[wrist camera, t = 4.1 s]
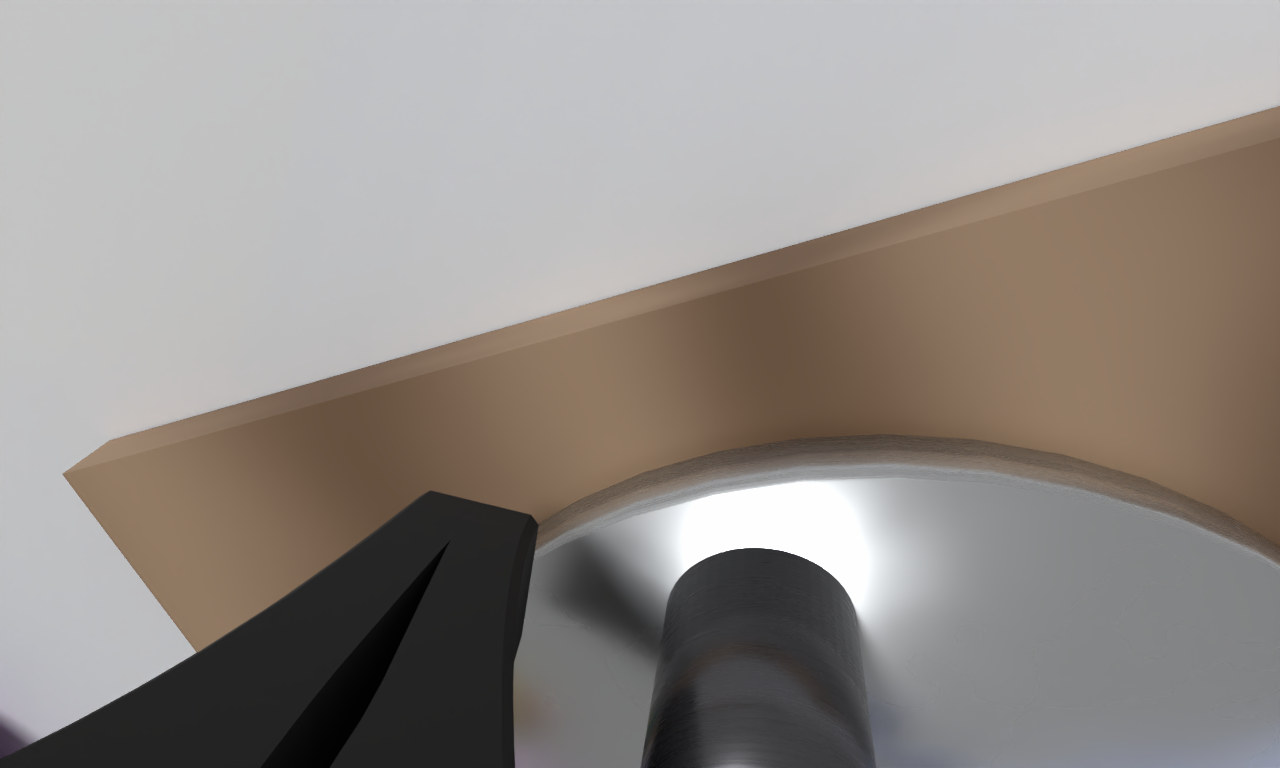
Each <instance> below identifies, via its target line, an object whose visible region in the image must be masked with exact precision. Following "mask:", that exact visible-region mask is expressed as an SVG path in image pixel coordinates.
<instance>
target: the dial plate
mask: <svg viewBox="0 0 1280 768" xmlns="http://www.w3.org/2000/svg"><path fill="white" fill-rule="evenodd" d="M876 434H895V435H911V436H928V437H944V438H961V439H976V440H982V441H988V442H994V443H999V444H1005V445H1011V446H1017V447H1023V448H1028V449H1034V450H1040V451H1046V452H1052V453H1057V454H1063V455H1067V456H1070V457H1074V458H1077V459H1080V460H1084V461H1087V462H1091V463H1094V464H1098V465H1101V466H1104V467H1108V468H1111V469H1115V470H1118V471H1121V472H1125V473H1128V474H1132V475H1135V476H1138V477H1142V478H1145V479H1148V480H1151V481H1153V482H1155V483H1158V484H1160V485H1162V486H1165V487H1167V488H1169V489H1171V490H1174V491H1176V492H1178V493H1181V494H1183V495H1185V496H1188V497H1190V498H1192V499H1195V500H1197V501H1199V502H1201V503H1204V504H1206V505H1208V506H1211V507H1213V508H1215V509H1218V510H1220V511H1222V512H1225V513H1226V514H1228V515H1230V516H1231V517H1233V518H1234V519H1236V520H1238V521H1239V522H1241V523H1243V524H1244V525H1246V526H1248V527H1249V528H1251V529H1253V530H1254V531H1256V532H1258V533H1259V534H1261V535H1263V536H1264V537H1266V538H1267V539H1269V540H1271V541H1272V542H1274V543H1276V544H1277V545H1279V546H1280V106H1279V107H1275V108H1272V109H1268V110H1265V111H1261V112H1258V113H1254V114H1251V115H1247V116H1244V117H1240V118H1237V119H1233V120H1230V121H1226V122H1223V123H1219V124H1216V125H1212V126H1209V127H1205V128H1202V129H1198V130H1195V131H1191V132H1188V133H1184V134H1181V135H1177V136H1174V137H1170V138H1167V139H1163V140H1160V141H1156V142H1153V143H1149V144H1146V145H1142V146H1139V147H1135V148H1132V149H1128V150H1125V151H1121V152H1118V153H1114V154H1111V155H1107V156H1104V157H1100V158H1097V159H1093V160H1090V161H1086V162H1083V163H1079V164H1076V165H1072V166H1069V167H1065V168H1062V169H1058V170H1055V171H1051V172H1048V173H1044V174H1041V175H1037V176H1034V177H1030V178H1027V179H1023V180H1020V181H1016V182H1013V183H1009V184H1006V185H1002V186H999V187H995V188H992V189H988V190H985V191H981V192H978V193H974V194H971V195H967V196H964V197H960V198H957V199H953V200H950V201H946V202H943V203H939V204H936V205H932V206H929V207H925V208H922V209H918V210H915V211H911V212H908V213H904V214H901V215H897V216H894V217H890V218H887V219H883V220H880V221H876V222H873V223H869V224H866V225H862V226H859V227H855V228H852V229H848V230H845V231H841V232H838V233H834V234H831V235H827V236H824V237H820V238H817V239H813V240H810V241H806V242H803V243H799V244H796V245H792V246H789V247H785V248H782V249H778V250H775V251H771V252H768V253H764V254H761V255H757V256H754V257H750V258H747V259H743V260H740V261H736V262H733V263H729V264H726V265H722V266H719V267H715V268H712V269H708V270H705V271H701V272H698V273H694V274H691V275H687V276H684V277H680V278H677V279H673V280H670V281H666V282H663V283H659V284H656V285H652V286H649V287H645V288H642V289H638V290H635V291H631V292H628V293H624V294H621V295H617V296H614V297H610V298H607V299H603V300H600V301H596V302H593V303H589V304H586V305H582V306H579V307H575V308H572V309H568V310H565V311H561V312H558V313H554V314H551V315H547V316H544V317H540V318H537V319H533V320H530V321H526V322H523V323H519V324H516V325H512V326H509V327H505V328H502V329H498V330H495V331H491V332H488V333H484V334H481V335H477V336H474V337H470V338H467V339H463V340H460V341H456V342H453V343H449V344H446V345H442V346H439V347H435V348H432V349H428V350H425V351H421V352H418V353H414V354H411V355H407V356H404V357H400V358H397V359H393V360H390V361H386V362H383V363H379V364H376V365H372V366H369V367H365V368H362V369H358V370H355V371H351V372H348V373H344V374H341V375H337V376H334V377H330V378H327V379H323V380H320V381H316V382H313V383H309V384H306V385H302V386H299V387H295V388H292V389H288V390H285V391H281V392H278V393H274V394H271V395H267V396H264V397H260V398H257V399H253V400H250V401H246V402H243V403H239V404H236V405H232V406H229V407H225V408H222V409H218V410H215V411H211V412H208V413H204V414H201V415H197V416H194V417H190V418H187V419H183V420H180V421H176V422H173V423H169V424H166V425H162V426H159V427H155V428H152V429H148V430H145V431H141V432H138V433H134V434H131V435H127V436H124V437H120V438H117V439H113V440H110V441H108V442H107V443H105V444H104V445H102V446H101V447H100V448H98V449H97V450H95V451H94V452H93V453H91V454H90V455H88V456H87V457H86V458H84V459H83V460H81V461H80V462H79V463H77V464H76V465H74V466H73V467H72V468H70V469H69V470H67V471H66V472H65V473H63V476H64V477H65V478H66V480H67V481H68V482H69V484H70V485H71V486H72V488H73V489H74V490H75V492H76V493H77V494H78V496H79V497H80V498H81V500H82V501H83V502H84V504H85V505H86V506H87V507H88V509H89V510H90V511H91V513H92V514H93V515H94V517H95V518H96V519H97V521H98V522H99V523H100V525H101V526H102V527H103V529H104V530H105V531H106V533H107V534H108V535H109V537H110V538H111V539H112V541H113V542H114V543H115V545H116V546H117V547H118V549H119V550H120V551H121V553H122V554H123V555H124V557H125V558H126V559H127V561H128V562H129V563H130V565H131V566H132V567H133V569H134V570H135V571H136V573H137V574H138V575H139V576H140V578H141V579H142V580H143V582H144V583H145V584H146V586H147V587H148V588H149V590H150V591H151V592H152V594H153V595H154V596H155V598H156V599H157V600H158V602H159V603H160V604H161V606H162V607H163V608H164V610H165V611H166V612H167V614H168V615H169V616H170V618H171V619H172V620H173V622H174V623H175V624H176V626H177V627H178V628H179V630H180V631H181V632H182V634H183V635H184V636H185V638H186V639H187V640H188V641H189V643H190V644H191V645H192V647H193V648H194V649H195V651H196V652H199V651H201V650H202V649H204V648H205V647H207V646H208V645H210V644H212V643H213V642H215V641H216V640H218V639H219V638H221V637H222V636H224V635H226V634H227V633H229V632H230V631H232V630H233V629H235V628H237V627H238V626H240V625H241V624H243V623H244V622H246V621H248V620H249V619H251V618H252V617H254V616H255V615H257V614H258V613H260V612H262V611H263V610H265V609H266V608H268V607H269V606H271V605H272V604H274V603H275V602H277V601H278V600H280V599H281V598H283V597H284V596H285V595H287V594H288V593H290V592H291V591H293V590H294V589H295V588H297V587H298V586H300V585H301V584H303V583H304V582H305V581H307V580H308V579H310V578H311V577H312V576H314V575H315V574H317V573H318V572H320V571H321V570H322V569H324V568H325V567H327V566H328V565H329V564H331V563H332V562H334V561H335V560H337V559H338V558H339V557H341V556H342V555H343V554H345V553H346V552H347V551H349V550H350V549H351V548H353V547H354V546H355V545H357V544H358V543H359V542H361V541H362V540H363V539H365V538H366V537H368V536H369V535H370V534H371V533H373V532H374V531H375V530H377V529H378V528H379V527H381V526H382V525H383V524H385V523H386V522H387V521H388V520H390V519H391V518H392V517H394V516H395V515H396V514H398V513H399V512H400V511H401V510H403V509H404V508H405V507H407V506H408V505H409V504H411V503H412V502H413V501H414V500H416V499H417V498H418V497H420V496H421V495H423V494H425V493H426V492H428V491H430V490H431V491H435V492H439V493H443V494H448V495H452V496H456V497H460V498H464V499H468V500H472V501H477V502H481V503H485V504H489V505H493V506H497V507H501V508H506V509H510V510H514V511H518V512H522V513H526V514H530V515H532V517H533V518H534V519H535V521H536V522H537V523H540V522H542V521H544V520H545V519H547V518H549V517H550V516H552V515H554V514H555V513H557V512H559V511H560V510H562V509H564V508H566V507H567V506H569V505H571V504H572V503H574V502H576V501H577V500H579V499H582V498H584V497H586V496H589V495H591V494H593V493H596V492H598V491H600V490H603V489H605V488H608V487H610V486H612V485H615V484H617V483H619V482H622V481H624V480H627V479H629V478H631V477H634V476H636V475H638V474H641V473H643V472H646V471H650V470H653V469H657V468H661V467H664V466H668V465H671V464H675V463H678V462H682V461H685V460H689V459H692V458H696V457H700V456H703V455H707V454H710V453H714V452H717V451H723V450H729V449H735V448H742V447H748V446H754V445H760V444H767V443H773V442H779V441H785V440H791V439H798V438H814V437H834V436H855V435H876Z"/></svg>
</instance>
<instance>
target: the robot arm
mask: <svg viewBox="0 0 1280 768" xmlns="http://www.w3.org/2000/svg"><path fill="white" fill-rule="evenodd" d="M538 527H539V525H538V523H537V522H536V521H535V519H534V518H533V517H532V515H530V514H526V513H522V512H518V511H514V510H510V509H506V508H501V507H497V506H493V505H489V504H485V503H481V502H477V501H472V500H468V499H464V498H460V497H456V496H452V495H448V494H443V493H439V492H435V491H431V490H430V491H428V492H426V493H425V494H423V495H421V496H420V497H418V498H417V499H416V500H414V501H413V502H412V503H411V504H409V505H408V506H407V507H405V508H404V509H403V510H401V511H400V512H399V513H398V514H396V515H395V516H394V517H392V518H391V519H390V520H388V521H387V522H386V523H385V524H383V525H382V526H381V527H379V528H378V529H377V530H375V531H374V532H373V533H371V534H370V535H369V536H368V537H366V538H365V539H363V540H362V541H361V542H359V543H358V544H357V545H355V546H354V547H353V548H351V549H350V550H349V551H347V552H346V553H345V554H343V555H342V556H341V557H339V558H338V559H337V560H335V561H334V562H332V563H331V564H329V565H328V566H327V567H325V568H324V569H322V570H321V571H320V572H318V573H317V574H315V575H314V576H312V577H311V578H310V579H308V580H307V581H305V582H304V583H303V584H301V585H300V586H298V587H297V588H295V589H294V590H293V591H291V592H290V593H288V594H287V595H285V596H284V597H283V598H281V599H280V600H278V601H277V602H275V603H274V604H272V605H271V606H269V607H268V608H266V609H265V610H263V611H262V612H260V613H258V614H257V615H255V616H254V617H252V618H251V619H249V620H248V621H246V622H244V623H243V624H241V625H240V626H238V627H237V628H235V629H233V630H232V631H230V632H229V633H227V634H226V635H224V636H222V637H221V638H219V639H218V640H216V641H215V642H213V643H212V644H210V645H208V646H207V647H205V648H204V649H202V650H201V651H199V652H197V653H196V654H194V655H192V656H191V657H189V658H188V659H186V660H184V661H182V662H181V663H179V664H177V665H176V666H174V667H172V668H171V669H169V670H167V671H166V672H164V673H162V674H160V675H159V676H157V677H155V678H154V679H152V680H150V681H148V682H147V683H145V684H143V685H141V686H140V687H138V688H136V689H134V690H133V691H131V692H129V693H127V694H125V695H123V696H122V697H120V698H118V699H116V700H114V701H113V702H111V703H109V704H107V705H105V706H103V707H102V708H100V709H98V710H96V711H94V712H92V713H91V714H89V715H87V716H85V717H83V718H81V719H79V720H78V721H76V722H74V723H72V724H70V725H68V726H66V727H64V728H62V729H60V730H58V731H56V732H54V733H52V734H50V735H48V736H46V737H44V738H42V739H40V740H38V741H36V742H34V743H32V744H30V745H28V746H26V747H24V748H22V749H20V750H18V751H16V752H14V753H12V754H10V755H8V756H6V757H4V758H2V759H0V768H515V752H514V712H513V677H514V661H515V657H516V654H517V650H518V647H519V644H520V640H521V637H522V631H523V624H524V618H525V612H526V605H527V599H528V592H529V586H530V579H531V573H532V566H533V560H534V553H535V547H536V540H537V534H538Z"/></svg>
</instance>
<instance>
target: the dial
mask: <svg viewBox="0 0 1280 768" xmlns="http://www.w3.org/2000/svg"><path fill="white" fill-rule="evenodd" d="M538 525H539V527H538V534H537V540H536V547H535V553H534V560H533V566H532V573H531V579H530V586H529V592H528V599H527V605H526V612H525V618H524V624H523V631H522V637H521V640H520V644H519V647H518V650H517V654H516V657H515V661H514V677H513V712H514V752H515V768H1280V546H1279V545H1277V544H1276V543H1274V542H1272V541H1271V540H1269V539H1267V538H1266V537H1264V536H1263V535H1261V534H1259V533H1258V532H1256V531H1254V530H1253V529H1251V528H1249V527H1248V526H1246V525H1244V524H1243V523H1241V522H1239V521H1238V520H1236V519H1234V518H1233V517H1231V516H1230V515H1228V514H1226V513H1225V512H1222V511H1220V510H1218V509H1215V508H1213V507H1211V506H1208V505H1206V504H1204V503H1201V502H1199V501H1197V500H1195V499H1192V498H1190V497H1188V496H1185V495H1183V494H1181V493H1178V492H1176V491H1174V490H1171V489H1169V488H1167V487H1165V486H1162V485H1160V484H1158V483H1155V482H1153V481H1151V480H1148V479H1145V478H1142V477H1138V476H1135V475H1132V474H1128V473H1125V472H1121V471H1118V470H1115V469H1111V468H1108V467H1104V466H1101V465H1098V464H1094V463H1091V462H1087V461H1084V460H1080V459H1077V458H1074V457H1070V456H1067V455H1063V454H1057V453H1052V452H1046V451H1040V450H1034V449H1028V448H1023V447H1017V446H1011V445H1005V444H999V443H994V442H988V441H982V440H976V439H961V438H944V437H928V436H911V435H895V434H876V435H855V436H834V437H814V438H798V439H791V440H785V441H779V442H773V443H767V444H760V445H754V446H748V447H742V448H735V449H729V450H723V451H717V452H714V453H710V454H707V455H703V456H700V457H696V458H692V459H689V460H685V461H682V462H678V463H675V464H671V465H668V466H664V467H661V468H657V469H653V470H650V471H646V472H643V473H641V474H638V475H636V476H634V477H631V478H629V479H627V480H624V481H622V482H619V483H617V484H615V485H612V486H610V487H608V488H605V489H603V490H600V491H598V492H596V493H593V494H591V495H589V496H586V497H584V498H582V499H579V500H577V501H576V502H574V503H572V504H571V505H569V506H567V507H566V508H564V509H562V510H560V511H559V512H557V513H555V514H554V515H552V516H550V517H549V518H547V519H545V520H544V521H542V522H540V523H538Z"/></svg>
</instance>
